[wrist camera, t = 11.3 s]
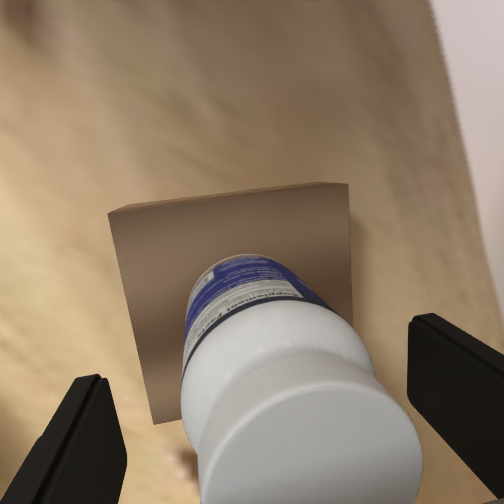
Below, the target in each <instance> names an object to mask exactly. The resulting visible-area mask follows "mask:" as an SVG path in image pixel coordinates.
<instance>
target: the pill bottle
mask: <svg viewBox="0 0 504 504" xmlns="http://www.w3.org/2000/svg"><path fill="white" fill-rule="evenodd" d="M181 413H182V420H183V424H184V428H185V431H186V434H187V437H188V439H189V441H190V443H191V445H192V447H193V449H194V450H195V452H196V453H197V455H198V473H199V488H200V504H414V502H415V499H416V496H417V493H418V490H419V487H420V483H421V477H422V470H423V455H422V448H421V443H420V440H419V436H418V434H417V431H416V429H415V426H414V425H413V423H412V421H411V419H410V418H409V416H408V415H407V413H406V412H405V410H404V409H403V408H402V407H401V406H400V405H399V403H398V402H397V401H396V400H395V399H394V398H393V397H392V395H391V394H390V393H389V392H388V391H387V390H386V389H385V388H384V387H383V386H382V385H381V384H380V382H379V381H378V380H377V379H376V377H375V371H374V367H373V363H372V360H371V357H370V355H369V353H368V350H367V348H366V346H365V345H364V343H363V341H362V340H361V338H360V337H359V335H358V334H357V333H356V331H355V330H354V329H353V328H352V327H351V326H350V325H349V324H348V323H347V321H345V320H344V319H343V318H342V317H341V316H340V315H339V314H338V313H337V312H336V311H335V310H333V309H332V308H331V307H330V306H329V305H328V304H327V303H326V302H324V301H323V300H322V299H321V298H320V297H319V296H318V295H317V294H316V293H315V292H313V291H312V290H311V289H310V288H309V287H308V286H307V285H306V284H305V283H304V282H303V281H301V280H300V279H299V278H298V277H297V276H296V275H295V274H294V273H293V272H292V271H291V270H289V269H288V268H287V267H286V266H285V265H283V264H282V263H280V262H279V261H277V260H275V259H273V258H270V257H267V256H263V255H258V254H240V255H235V256H231V257H228V258H226V259H223V260H221V261H219V262H217V263H216V264H214V265H213V266H211V267H210V268H209V269H208V270H207V271H205V272H204V273H203V274H202V276H201V277H200V278H199V279H198V281H197V282H196V284H195V286H194V287H193V289H192V292H191V294H190V297H189V301H188V305H187V311H186V324H185V341H184V355H183V369H182V381H181Z"/></svg>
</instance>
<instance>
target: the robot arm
mask: <svg viewBox="0 0 504 504" xmlns="http://www.w3.org/2000/svg"><path fill="white" fill-rule="evenodd" d="M407 395H408V399H409V401H410V403H411V404H412V405H413V407H414V408H415V409H416V410H417V411H418V412H419V413H420V414H421V415H422V416H423V418H424V419H425V420H426V421H427V422H428V423H429V424H430V425H431V426H432V427H433V428H434V430H435V431H436V432H437V433H438V434H439V435H440V436H441V437H442V438H443V439H444V441H445V442H446V443H447V444H448V445H449V446H450V447H451V448H452V449H453V450H454V452H455V453H456V454H457V455H458V456H459V457H460V458H461V459H462V460H463V461H464V462H465V464H466V465H467V466H468V467H469V468H470V469H471V470H472V471H473V472H474V473H475V475H476V476H477V477H478V478H479V479H480V480H481V481H482V482H483V483H484V484H485V486H486V487H487V488H488V489H489V490H490V491H491V492H492V493H493V494H494V495H495V496H496V498H497V499H498V500H494V501H490V502H486V503H483V504H504V355H503V354H501V353H499V352H498V351H496V350H494V349H493V348H491V347H489V346H488V345H486V344H484V343H483V342H481V341H479V340H478V339H476V338H474V337H473V336H471V335H470V334H468V333H466V332H465V331H463V330H461V329H460V328H458V327H456V326H455V325H453V324H451V323H450V322H448V321H446V320H445V319H443V318H441V317H440V316H438V315H436V314H434V313H428V314H423V315H417V316H415V317H413V319H412V321H411V322H410V323H409V326H408V366H407ZM126 467H127V452H126V448H125V444H124V440H123V436H122V433H121V429H120V425H119V421H118V417H117V413H116V409H115V405H114V401H113V398H112V394H111V390H110V386H109V382H108V380H107V378H101V376H100V375H99V374H94V375H88V376H83V377H78V378H76V379H75V380H74V382H73V383H72V385H71V387H70V388H69V390H68V392H67V393H66V395H65V397H64V399H63V400H62V402H61V404H60V405H59V407H58V409H57V410H56V412H55V414H54V416H53V417H52V419H51V421H50V422H49V424H48V426H47V427H46V429H45V431H44V433H43V434H42V436H40V437H39V438H38V440H37V441H36V442H35V444H34V446H33V447H32V449H31V451H30V452H29V454H28V456H27V457H26V459H25V461H24V462H23V464H22V466H21V467H20V469H19V471H18V472H17V474H16V476H15V477H14V479H13V481H12V482H11V484H10V486H9V487H8V489H7V491H6V492H5V494H4V496H3V497H2V499H1V501H0V504H118V501H119V497H120V493H121V489H122V484H123V480H124V476H125V472H126Z"/></svg>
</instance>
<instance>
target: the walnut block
mask: <svg viewBox="0 0 504 504" xmlns="http://www.w3.org/2000/svg"><path fill="white" fill-rule="evenodd" d="M107 214H108V218H109V223H110V227H111V232H112V236H113V241H114V246H115V250H116V255H117V259H118V264H119V268H120V273H121V278H122V282H123V287H124V291H125V296H126V300H127V305H128V310H129V314H130V319H131V323H132V328H133V332H134V337H135V341H136V346H137V351H138V355H139V360H140V364H141V369H142V373H143V378H144V383H145V387H146V392H147V396H148V401H149V405H150V410H151V415H152V419H153V424H154V425H156V424H161V423H166V422H170V421H175V420H180V419H182V413H181V381H182V369H183V355H184V341H185V324H186V311H187V305H188V301H189V297H190V294H191V292H192V289H193V287H194V286H195V284H196V282H197V281H198V279H199V278H200V277H201V276H202V274H203V273H204V272H205V271H207V270H208V269H209V268H210V267H211V266H213V265H214V264H216V263H217V262H219V261H221V260H223V259H226V258H228V257H231V256H235V255H240V254H258V255H263V256H267V257H270V258H273V259H275V260H277V261H279V262H280V263H282V264H283V265H285V266H286V267H287V268H288V269H289V270H291V271H292V272H293V273H294V274H295V275H296V276H297V277H298V278H299V279H300V280H301V281H303V282H304V283H305V284H306V285H307V286H308V287H309V288H310V289H311V290H312V291H313V292H315V293H316V294H317V295H318V296H319V297H320V298H321V299H322V300H323V301H324V302H326V303H327V304H328V305H329V306H330V307H331V308H332V309H333V310H335V311H336V312H337V313H338V314H339V315H340V316H341V317H342V318H343V319H344V320H345V321H347V323H348V324H349V325H350V326H351V327H352V328H353V313H352V284H351V254H350V225H349V196H348V184H341V183H326V182H315V183H306V184H298V185H290V186H281V187H273V188H265V189H256V190H248V191H240V192H231V193H223V194H215V195H206V196H198V197H190V198H181V199H173V200H165V201H156V202H148V203H140V204H131V205H126V206H124V207H121V208H119V209H117V210H114V211H112V212H109V213H107Z"/></svg>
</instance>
